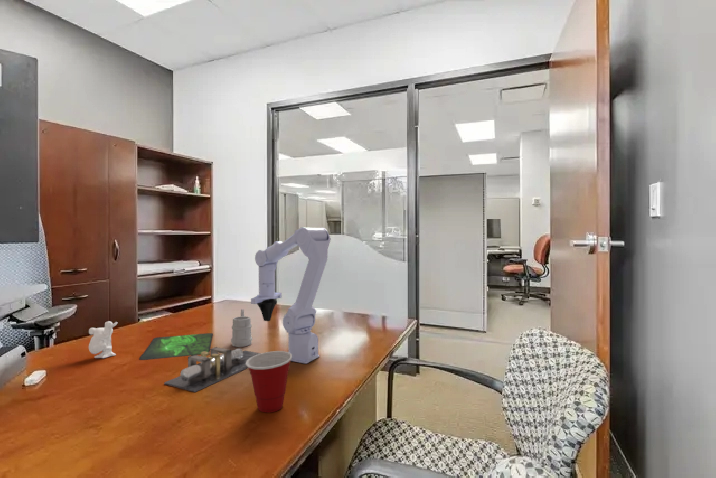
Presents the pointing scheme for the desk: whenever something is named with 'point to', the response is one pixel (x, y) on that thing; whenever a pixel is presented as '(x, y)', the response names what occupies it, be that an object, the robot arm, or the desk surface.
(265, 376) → the plastic cup
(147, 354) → the mouse mat
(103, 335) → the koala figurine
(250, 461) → the desk surface
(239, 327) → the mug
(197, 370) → the tube
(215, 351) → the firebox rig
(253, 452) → the desk surface
